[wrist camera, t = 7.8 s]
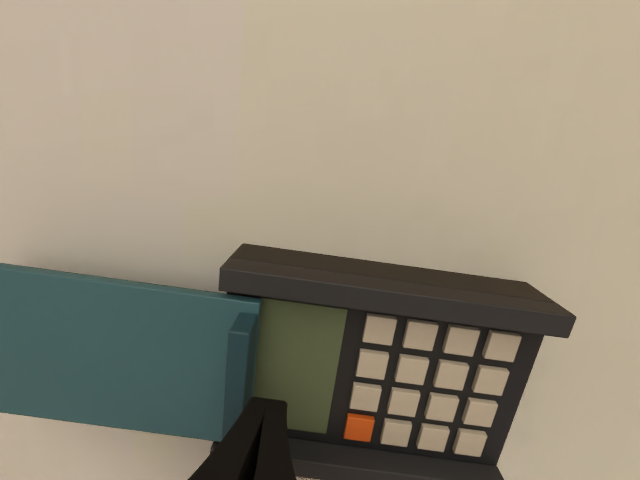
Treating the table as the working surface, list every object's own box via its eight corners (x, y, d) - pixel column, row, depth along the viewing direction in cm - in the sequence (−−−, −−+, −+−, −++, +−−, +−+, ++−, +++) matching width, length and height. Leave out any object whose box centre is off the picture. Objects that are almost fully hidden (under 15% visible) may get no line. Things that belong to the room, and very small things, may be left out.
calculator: (526, 281, 16) (578, 316, 13) (473, 442, 19) (503, 504, 15) (242, 243, 16) (219, 267, 13) (230, 409, 19) (209, 465, 15)
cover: (262, 298, 13) (250, 323, 12) (249, 436, 15) (237, 477, 14) (-45, 256, 13) (-109, 274, 11) (-18, 400, 15) (-69, 436, 13)
